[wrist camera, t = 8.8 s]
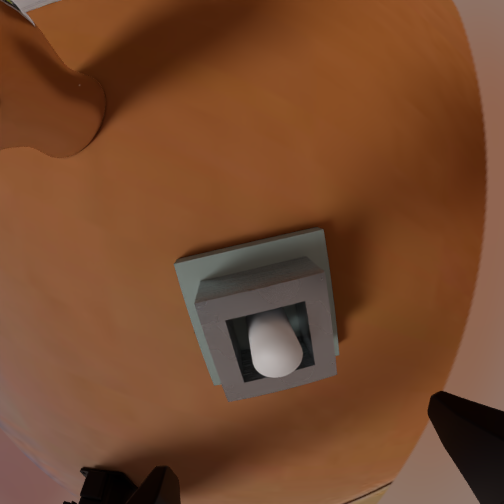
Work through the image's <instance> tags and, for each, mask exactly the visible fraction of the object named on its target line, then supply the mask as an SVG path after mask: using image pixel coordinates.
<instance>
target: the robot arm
mask: <svg viewBox="0 0 504 504" xmlns="http://www.w3.org/2000/svg"><path fill="white" fill-rule="evenodd" d="M428 416H429V418H430V420H431V422H432V424H433V426H434V428H435V430H436V432H437V434H438V436H439V438H440V440H441V442H442V444H443V446H444V447H445V449H446V450H447V452H448V453H449V455H450V457H451V458H452V460H453V461H454V463H455V464H456V466H457V467H458V469H459V470H460V472H461V474H462V475H463V477H464V478H465V480H466V481H467V483H468V485H469V486H470V488H471V489H472V491H473V493H474V494H475V496H476V498H477V499H478V501H479V502H480V504H504V411H501V410H498V409H495V408H491V407H488V406H485V405H482V404H479V403H476V402H473V401H470V400H467V399H464V398H461V397H458V396H455V395H452V394H450V393H447V392H444V391H439V392H437V393H435V394H433V395H432V396H431V398H430V402H429V406H428ZM80 472H81V473H82V474H83V475H84V476H85V477H86V479H85V482H84V485H83V487H82V490H81V493H80V496H81V498H80V501H79V504H181V501H180V488H179V480H178V478H177V476H176V475H175V474H174V472H173V471H172V470H171V469H170V467H169V466H156V467H155V468H154V469H153V470H152V472H151V473H150V474H149V475H148V477H147V478H146V479H145V480H144V482H143V483H142V484H141V485H140V487H139V488H137V487H136V486H135V485H134V484H133V483H132V482H131V481H130V479H129V478H128V477H127V476H126V475H125V474H123V473H121V472H110V471H100V470H91V469H84V468H81V470H80ZM63 504H77V503H75V502H74V501H72V502H71V503H70V502H66V501H64V502H63Z"/></svg>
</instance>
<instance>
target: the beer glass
mask: <svg viewBox="0 0 504 504" xmlns="http://www.w3.org/2000/svg"><path fill="white" fill-rule="evenodd" d="M105 108H106V99H105V94H104V91H103V88H102V87H101V85H100V84H99V82H98V81H97V80H95V79H94V78H93V77H91V76H89V75H86V74H83V73H80V72H77V71H74V70H72V69H70V68H69V67H68V66H67V65H66V64H64V62H63V61H62V60H61V58H60V57H59V56H58V54H57V53H56V51H55V50H54V49H53V47H52V46H51V44H50V43H49V41H48V40H47V39H46V37H45V36H44V34H43V33H42V32H41V30H40V29H39V28H38V27H37V25H36V24H35V23H34V22H33V21H32V19H31V18H30V17H29V16H28V15H27V14H26V13H25V12H24V11H23V10H22V9H21V8H20V7H18V6H17V5H16V4H15V3H14V2H13V1H11V0H0V150H3V149H8V148H16V147H30V148H34V149H36V150H38V151H40V152H42V153H44V154H45V155H48V156H50V157H54V158H65V157H69V156H72V155H74V154H76V153H78V152H79V151H81V150H82V149H83V148H85V147H86V146H87V145H88V144H89V143H90V142H91V140H92V139H93V138H94V136H95V135H96V133H97V132H98V130H99V128H100V126H101V124H102V121H103V118H104V114H105Z"/></svg>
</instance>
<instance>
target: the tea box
mask: <svg viewBox="0 0 504 504" xmlns="http://www.w3.org/2000/svg"><path fill="white" fill-rule="evenodd" d="M11 1H13V2H14V3H15V4H16V5H17V6H18V7H20V8H21V9H22V10H23V11H24V12H25V13H26V12H28V11H31V10H33V9H36V8H39V7H42V6H44V5H47V4H50V3H53V2H57V1H60V0H11Z"/></svg>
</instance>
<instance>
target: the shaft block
mask: <svg viewBox="0 0 504 504" xmlns="http://www.w3.org/2000/svg"><path fill="white" fill-rule="evenodd" d="M303 256H307V257H308V258H309V259H310V260H311V261H313V262H314V263H315V264H316V265H317V266H319V267H320V268H321V269H322V270H323V271H324V272H325V276H326V283H327V290H328V297H329V305H330V313H331V321H332V329H333V339H334V348H335V356H337V355H339V347H338V336H337V326H336V316H335V307H334V299H333V291H332V283H331V276H330V268H329V261H328V255H327V248H326V242H325V236H324V230H323V229H321V228H319V227H315V228H310V229H306V230H301V231H297V232H292V233H288V234H284V235H279V236H275V237H270V238H266V239H262V240H257V241H253V242H249V243H244V244H240V245H236V246H231V247H227V248H223V249H218V250H214V251H210V252H206V253H201V254H197V255H193V256H189V257H184V258H180V259H177V260H176V262H175V263H174V266H175V270H176V273H177V277H178V280H179V283H180V287H181V290H182V293H183V297H184V300H185V303H186V306H187V309H188V312H189V316H190V319H191V322H192V325H193V328H194V331H195V334H196V337H197V340H198V343H199V345H200V348H201V351H202V354H203V357H204V360H205V362H206V365H207V368H208V370H209V373H210V376H211V379H212V381H213V384H214V385H220V384H221V381H220V378H219V376H218V373H217V370H216V367H215V365H214V362H213V359H212V356H211V353H210V350H209V347H208V344H207V341H206V338H205V335H204V332H203V329H202V326H201V323H200V320H199V317H198V314H197V311H196V308H195V304H194V302H195V299H196V295H197V291H198V287H199V284H200V281H203V280H207V279H211V278H215V277H220V276H224V275H228V274H233V273H237V272H241V271H245V270H250V269H254V268H258V267H262V266H266V265H270V264H275V263H279V262H283V261H287V260H291V259H295V258H299V257H303ZM232 322H233V326H234V330H235V333H236V337H237V340H238V343H239V347H240V350H245V349H251V355H252V361H253V365H254V367H255V369H256V370H257V371H258V372H259V373H260V374H262V375H264V376H267V377H272V378H277V377H283V376H286V375H288V374H290V373H292V372H293V371H294V370H295V369H296V368H297V367H298V366H299V365H300V363H301V361H302V357H303V351H302V348H301V346H300V344H299V341H298V339H297V337H298V336H300V330H299V325H298V319H297V314H296V308H295V304H291V305H287V306H284V307H280V308H276V309H272V310H268V311H263V312H259V313H255V314H251V315H247V316H242V317H238V318H234V319H232Z"/></svg>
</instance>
